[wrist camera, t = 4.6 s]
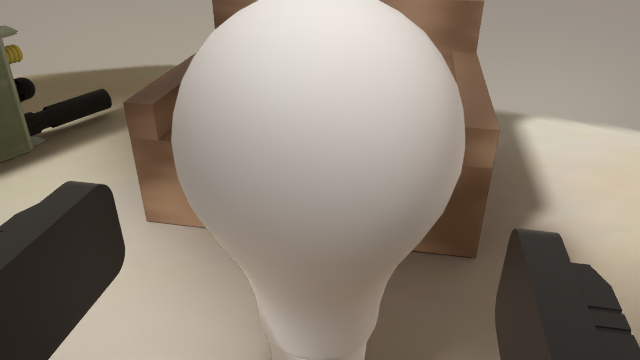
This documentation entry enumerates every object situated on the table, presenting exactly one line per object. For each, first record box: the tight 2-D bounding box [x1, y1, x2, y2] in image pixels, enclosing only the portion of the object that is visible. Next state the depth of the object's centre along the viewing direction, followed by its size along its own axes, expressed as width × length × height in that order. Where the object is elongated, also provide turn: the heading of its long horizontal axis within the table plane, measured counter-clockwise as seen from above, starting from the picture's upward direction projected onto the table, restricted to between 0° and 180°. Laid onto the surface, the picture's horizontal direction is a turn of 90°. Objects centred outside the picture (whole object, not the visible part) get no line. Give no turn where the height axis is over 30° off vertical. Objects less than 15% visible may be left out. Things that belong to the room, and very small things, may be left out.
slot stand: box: [123, 0, 500, 258], centre depth 24 cm, size 14×11×8 cm
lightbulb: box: [171, 0, 465, 360], centre depth 12 cm, size 6×6×11 cm
